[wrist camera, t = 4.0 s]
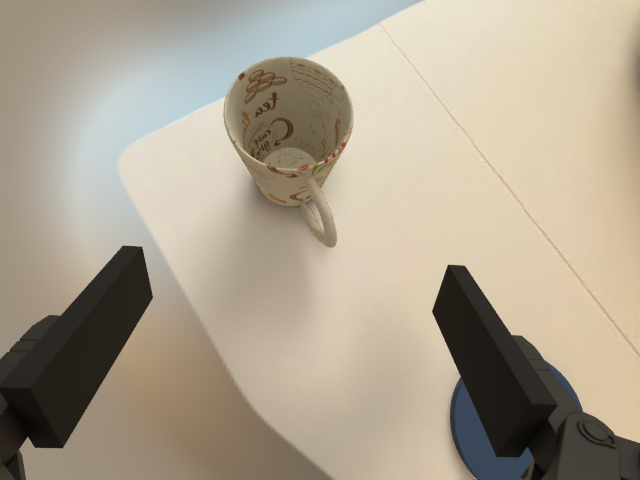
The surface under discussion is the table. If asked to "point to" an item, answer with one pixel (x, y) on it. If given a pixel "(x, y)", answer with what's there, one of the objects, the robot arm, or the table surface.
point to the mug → (290, 132)
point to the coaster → (473, 444)
